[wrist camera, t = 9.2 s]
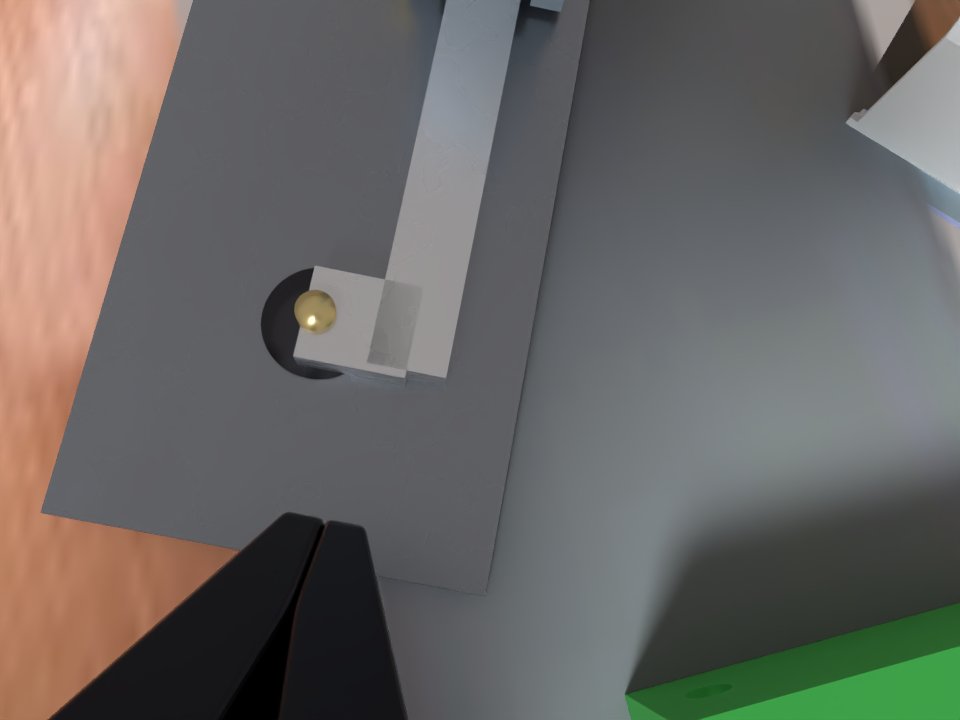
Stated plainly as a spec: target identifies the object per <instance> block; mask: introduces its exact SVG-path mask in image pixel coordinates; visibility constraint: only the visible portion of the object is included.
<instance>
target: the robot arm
mask: <svg viewBox="0 0 960 720" xmlns="http://www.w3.org/2000/svg"><path fill="white" fill-rule="evenodd" d="M48 720H408V716H407V711H406V707H405V702H404V698H403V693H402V689H401V684H400V680H399V675H398V671H397V666H396V662H395V657H394V653H393V648H392V644H391V640H390V635H389V631H388V626H387V622H386V617H385V613H384V608H383V604H382V599H381V595H380V590H379V586H378V581H377V577H376V572H375V568H374V563H373V559H372V554H371V550H370V545H369V541H368V536H367V532H366V530H365V528H364V527H363V526H361V525H357V524H352V523H347V522H342V521H336V520H329V521H327V522H326V523H325V524H324V522H323V520H322V519H321V518H319V517H315V516H310V515H305V514H300V513H294V512H286V513H284V514H282V515H281V516H279V517H278V518H277V519H276V520H275V521H274V522H273V523H271V524H270V525H269V526H268V527H267V528H266V529H265V530H263V531H262V532H261V533H260V534H259V535H258V536H257V537H255V538H254V539H253V540H252V541H251V542H250V543H249V544H247V545H246V546H245V547H244V548H243V549H242V550H241V551H240V552H238V553H237V554H236V555H235V556H234V557H233V558H232V559H230V560H229V561H228V562H227V563H226V564H225V565H224V566H222V567H221V568H220V569H219V570H218V571H217V572H216V573H214V574H213V575H212V576H211V577H210V578H209V579H208V580H206V581H205V582H204V583H203V584H202V585H201V586H200V587H198V588H197V589H196V590H195V591H194V592H193V593H192V594H190V595H189V596H188V597H187V598H186V599H185V600H184V601H182V602H181V603H180V604H179V605H178V606H177V607H176V608H174V609H173V610H172V611H171V612H170V613H169V614H168V615H166V616H165V617H164V618H163V619H162V620H161V621H160V622H158V623H157V624H156V625H155V626H154V627H153V628H152V629H150V630H149V631H148V632H147V633H146V634H145V635H144V636H142V637H141V638H140V639H139V640H138V641H137V642H136V643H134V644H133V645H132V646H131V647H130V648H129V649H128V650H126V651H125V652H124V653H123V654H122V655H121V656H120V657H118V658H117V659H116V660H115V661H114V662H113V663H112V664H110V665H109V666H108V667H107V668H106V669H105V670H104V671H103V672H101V673H100V674H99V675H98V676H97V677H96V678H95V679H93V680H92V681H91V682H90V683H89V684H88V685H87V686H85V687H84V688H83V689H82V690H81V691H80V692H79V693H77V694H76V695H75V696H74V697H73V698H72V699H71V700H69V701H68V702H67V703H66V704H65V705H64V706H63V707H61V708H60V709H59V710H58V711H57V712H56V713H55V714H53V715H52V716H51V717H50V718H49V719H48Z"/></svg>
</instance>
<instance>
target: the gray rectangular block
mask: <svg viewBox="0 0 960 720" xmlns="http://www.w3.org/2000/svg"><path fill="white" fill-rule="evenodd" d="M563 2H564V0H531V3H530V6H534V7H539V8H544V9H548V10H553V11H558V12H561V9H562V6H563Z"/></svg>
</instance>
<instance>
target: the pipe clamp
mask: <svg viewBox="0 0 960 720" xmlns="http://www.w3.org/2000/svg"><path fill="white" fill-rule="evenodd" d="M625 697H626V701H627V705H628V709H629V712H630V716H631V720H960V603H956V604H952V605H949V606H945V607H942V608H938V609H934V610H931V611H927V612H923V613H920V614H916V615H912V616H909V617H905V618H901V619H898V620H894V621H890V622H887V623H883V624H879V625H876V626H872V627H869V628H865V629H861V630H858V631H854V632H850V633H847V634H843V635H839V636H836V637H832V638H828V639H825V640H821V641H817V642H814V643H810V644H807V645H803V646H799V647H796V648H792V649H788V650H785V651H781V652H777V653H774V654H770V655H766V656H763V657H759V658H755V659H752V660H748V661H744V662H741V663H737V664H734V665H730V666H726V667H723V668H719V669H715V670H712V671H708V672H704V673H701V674H697V675H693V676H690V677H686V678H682V679H679V680H675V681H671V682H668V683H664V684H661V685H657V686H653V687H650V688H646V689H642V690H639V691H635V692H631V693H628V694H625Z"/></svg>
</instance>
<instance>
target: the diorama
mask: <svg viewBox="0 0 960 720" xmlns="http://www.w3.org/2000/svg"><path fill="white" fill-rule="evenodd" d="M880 62H881V65H882V68H883V71H884V74H885V77H886V80H887V84H888V87H889V90H888V91H887V92H886V93H885V94H884V95H883V96H882V97H881V98H880V99H879V100H878V101H877V102H876V103H875V104H874V105H873V106H872V107H871V108H870V109H869V110H868V111H867V110H866V109H863V110H862V111H861V112H860V113H857V112H854V113H853V114H852V115H851V116H850V117H849V118H848V119H847V121H846V124H847V125H849V126H851V127H852V128H854V129H856V130H857V131H859V132H860V133H862V134H864V135H865V136H867V137H869V138H870V139H872V140H874V141H875V142H877V143H879V144H880V145H882V146H883V147H885V148H887V149H888V150H890V151H892V152H893V153H895V154H897V155H898V156H900V157H902V158H903V159H905V160H906V161H908V162H910V163H911V164H913V165H915V166H916V167H918V168H920V171H921V174H922V177H923V180H924V183H925V186H926V189H927V192H928V194H929V197H930V200H931V202H932V205H933V207H934V210H935V212H936V214H937V216H939V217H941V218H942V219H944V220H946V221H947V222H949V223H950V224H952V225H954V226H955V227H957V228H959V229H960V16H959V18H958V19H957V20H956V22H955V23H954V24H953V26H952V27H951V28H950V30H949V31H948V32H947V34H946V35H945V36H944V37H943V38H942V39H941V40H940V41H939V42H938V43H937V44H935V45H934V46H933V45H932V42H931V39H930V37H929V34H928V31H927V29H926V27H925V24H924V22H923V19H922V17H921V15H920V13H919V11H918V8H917V6H916V4H915V2H914V3H913V5H912V7H911V9H910V10H909V12H908V14H907V15H906V17H905V19H904V21H903V22H902V24H901V26H900V27H899V29H898V31H897V33H896V34H895V36H894V38H893V40H892V41H891V43H890V44H889V46H888V48H887V50H886V51H885V53H884V55H883V56H882V58H881V60H880Z"/></svg>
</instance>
